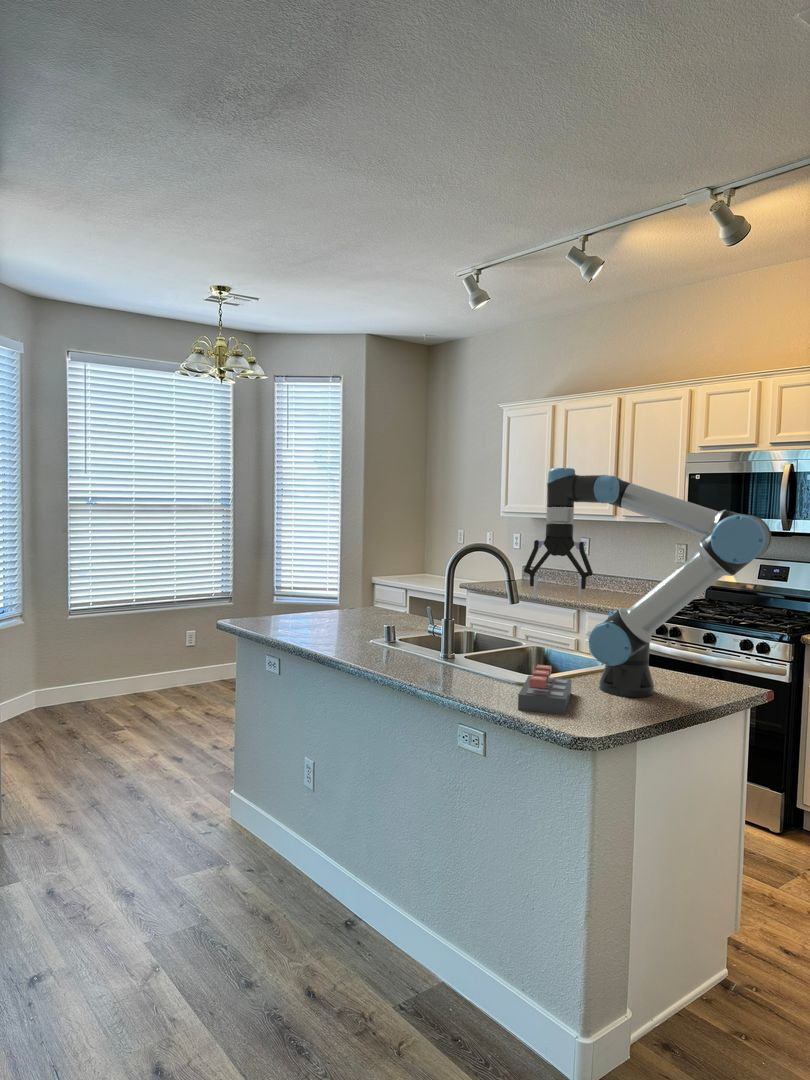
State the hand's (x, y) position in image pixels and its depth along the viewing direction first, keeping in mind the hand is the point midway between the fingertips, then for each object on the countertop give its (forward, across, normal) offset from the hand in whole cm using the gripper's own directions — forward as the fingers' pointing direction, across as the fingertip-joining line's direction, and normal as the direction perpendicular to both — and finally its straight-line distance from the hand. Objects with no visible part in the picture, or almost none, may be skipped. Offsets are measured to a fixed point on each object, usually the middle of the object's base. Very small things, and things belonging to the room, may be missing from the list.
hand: (557, 599), depth 212 cm
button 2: (+20, +3, +13) cm, 24 cm away
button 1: (+20, +3, +6) cm, 21 cm away
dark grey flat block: (+26, +1, +11) cm, 29 cm away
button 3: (+20, +3, +20) cm, 29 cm away
